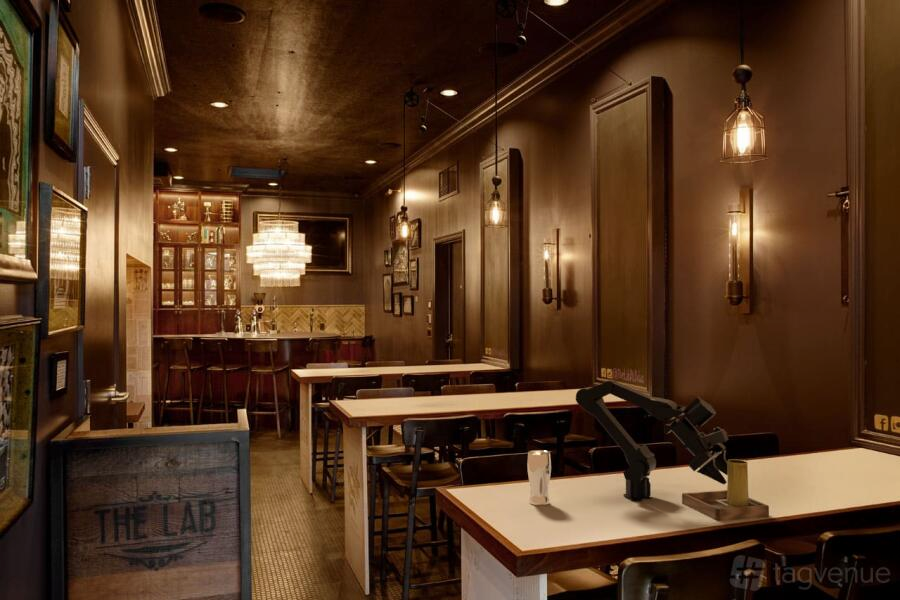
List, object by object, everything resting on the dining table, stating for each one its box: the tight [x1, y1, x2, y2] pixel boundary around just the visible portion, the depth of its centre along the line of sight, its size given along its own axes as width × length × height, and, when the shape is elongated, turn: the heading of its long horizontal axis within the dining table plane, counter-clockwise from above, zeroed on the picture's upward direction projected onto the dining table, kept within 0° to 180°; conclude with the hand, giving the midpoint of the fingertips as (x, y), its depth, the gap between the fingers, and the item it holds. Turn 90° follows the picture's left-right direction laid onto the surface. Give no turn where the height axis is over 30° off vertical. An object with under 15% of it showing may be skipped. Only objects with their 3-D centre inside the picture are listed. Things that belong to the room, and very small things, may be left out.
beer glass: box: [526, 449, 552, 507], centre depth 201 cm, size 7×7×15 cm
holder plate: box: [715, 499, 760, 509], centre depth 189 cm, size 9×9×2 cm
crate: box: [681, 489, 770, 522], centre depth 192 cm, size 16×17×4 cm
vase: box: [726, 458, 750, 507], centre depth 189 cm, size 6×6×14 cm
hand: (729, 480), depth 191 cm, fingers open, 9 cm apart
